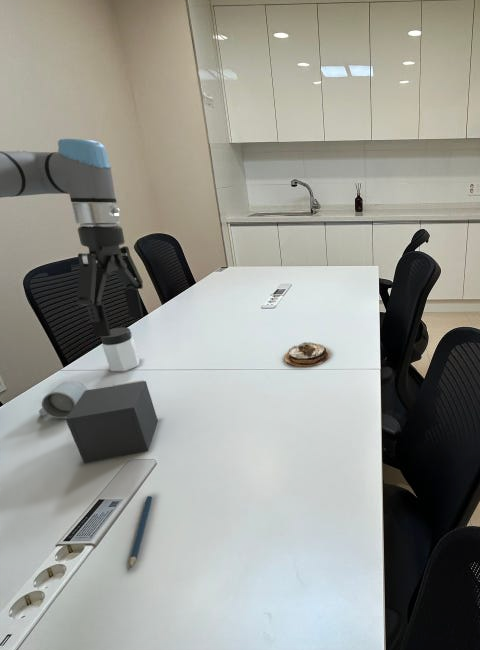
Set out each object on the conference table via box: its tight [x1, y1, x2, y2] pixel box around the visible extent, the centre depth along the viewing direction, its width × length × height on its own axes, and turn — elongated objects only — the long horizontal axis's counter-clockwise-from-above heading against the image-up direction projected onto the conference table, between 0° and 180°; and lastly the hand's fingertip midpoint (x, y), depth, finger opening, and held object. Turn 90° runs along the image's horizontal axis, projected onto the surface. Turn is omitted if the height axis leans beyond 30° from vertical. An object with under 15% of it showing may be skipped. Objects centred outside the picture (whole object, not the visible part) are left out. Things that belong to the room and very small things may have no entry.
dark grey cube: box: [64, 380, 159, 464], centre depth 89 cm, size 12×13×12 cm
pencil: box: [129, 495, 153, 568], centre depth 68 cm, size 1×1×15 cm
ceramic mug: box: [38, 380, 88, 419], centre depth 102 cm, size 11×8×8 cm
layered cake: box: [284, 341, 331, 367], centre depth 129 cm, size 15×15×4 cm
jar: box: [99, 327, 141, 372], centre depth 124 cm, size 9×8×12 cm
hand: (121, 325), depth 85 cm, fingers open, 13 cm apart
